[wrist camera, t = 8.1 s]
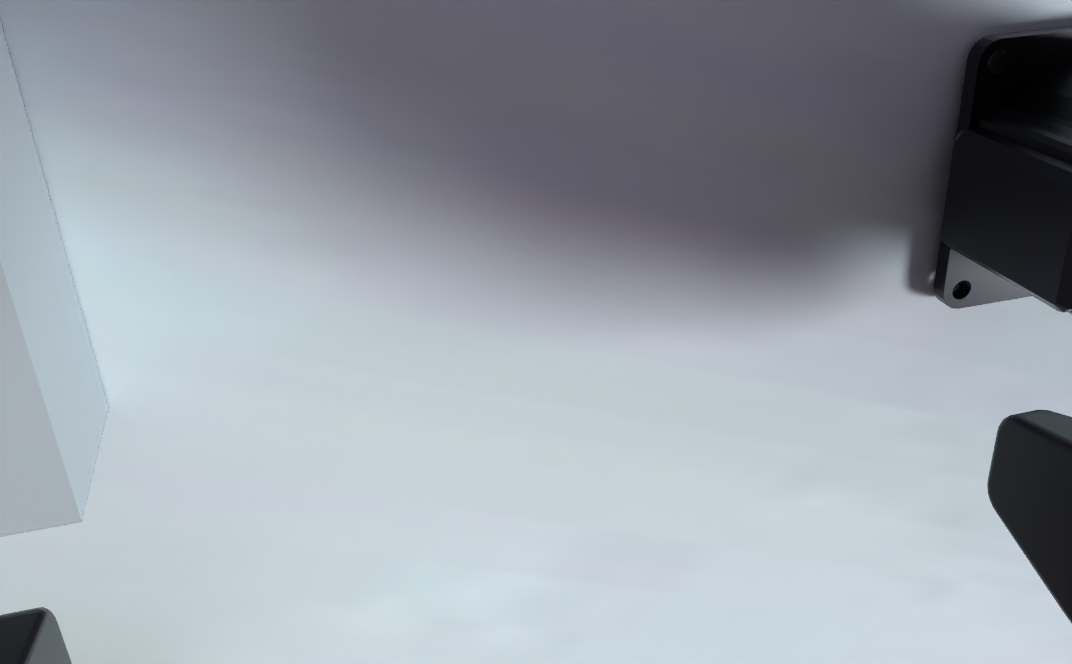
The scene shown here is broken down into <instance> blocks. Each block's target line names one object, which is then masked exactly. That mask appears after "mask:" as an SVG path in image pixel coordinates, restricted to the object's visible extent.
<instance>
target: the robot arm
mask: <svg viewBox="0 0 1072 664" xmlns="http://www.w3.org/2000/svg"><path fill="white" fill-rule="evenodd" d="M996 51H997V58H996V61H995V63H994V64H993V65H992V67H991V68H989V67H988V62H989V59H990V57H991V56H992V55H993V54H994V52H996ZM960 281H961V283H960V286H959V288H958V289H957V290H956V291H954V292H952V291H953V289H954V286H955V285H956V284H957V283H958V282H960ZM934 294H935V296H936V297H937V299H938V300H940V301H941V302H943V303H944V304H946V305H947V306H949V307H951V308H964V307H970V306H976V305H982V304H988V303H993V302H999V301H1005V300H1011V299H1017V298H1023V297H1029V296H1033V297H1035V298H1037V299H1038V300H1040V301H1042V302H1044V303H1045V304H1047V305H1049V306H1050V307H1052V308H1054V309H1056V310H1057V311H1060V312H1069V313H1070V314H1072V26H1071V27H1061V28H1052V29H1043V30H1034V31H1024V32H1015V33H1006V34H997V35H989V36H986V37H983V38H982V39H980V40H979V41H978V42H977V43H975V45H974V46H973V48H972V49H971V51H970V53H969V56H968V59H967V64H966V71H965V78H964V85H963V92H962V98H961V105H960V112H959V119H958V126H957V132H956V139H955V142H954V148H953V155H952V162H951V169H950V176H949V182H948V189H947V196H946V203H945V210H944V217H943V223H942V230H941V241H940V248H939V255H938V262H937V269H936V275H935V282H934ZM987 485H988V494H989V498H990V501H991V503H992V506H993V508H994V509H995V511H996V512H997V514H998V515H999V517H1000V518H1001V520H1002V521H1003V523H1004V524H1005V526H1006V527H1007V529H1008V530H1009V532H1010V533H1011V535H1012V536H1013V538H1014V539H1015V541H1016V542H1017V544H1018V545H1019V547H1020V548H1021V550H1022V551H1023V552H1024V554H1025V555H1026V557H1027V558H1028V560H1029V561H1030V563H1031V564H1032V566H1033V567H1034V569H1035V570H1036V572H1037V573H1038V575H1039V576H1040V578H1041V579H1042V581H1043V582H1044V584H1045V585H1046V587H1047V588H1048V590H1049V591H1050V593H1051V594H1052V596H1053V597H1054V598H1055V600H1056V601H1057V603H1058V604H1059V606H1060V607H1061V609H1062V610H1063V612H1064V613H1065V615H1066V616H1067V617H1068V619H1069V620H1070V622H1071V623H1072V417H1069V416H1066V415H1062V414H1059V413H1055V412H1052V411H1048V410H1035V411H1030V412H1025V413H1020V414H1015V415H1010V416H1008V417H1007V418H1005V419H1004V420H1003V421H1002V422H1001V424H1000V425H999V428H998V431H997V436H996V441H995V446H994V451H993V456H992V462H991V467H990V472H989V477H988V484H987ZM0 664H72V663H71V660H70V657H69V654H68V651H67V649H66V646H65V643H64V640H63V637H62V634H61V631H60V628H59V626H58V623H57V620H56V618H55V616H54V615H53V613H52V612H51V611H50V610H48V609H46V608H43V607H40V608H35V609H30V610H24V611H19V612H14V613H9V614H4V615H1V616H0Z"/></svg>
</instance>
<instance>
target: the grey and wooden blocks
mask: <svg viewBox="0 0 1072 664" xmlns="http://www.w3.org/2000/svg"><path fill="white" fill-rule="evenodd" d="M108 409H109V406H108V403H107V399H106V395H105V392H104V388H103V385H102V381H101V378H100V374H99V371H98V367H97V363H96V360H95V356H94V353H93V349H92V346H91V342H90V338H89V335H88V331H87V328H86V324H85V321H84V317H83V313H82V310H81V306H80V303H79V299H78V296H77V292H76V289H75V285H74V281H73V278H72V274H71V271H70V267H69V264H68V260H67V256H66V253H65V249H64V246H63V242H62V239H61V235H60V231H59V228H58V224H57V221H56V217H55V214H54V210H53V207H52V203H51V199H50V196H49V192H48V189H47V185H46V182H45V178H44V174H43V171H42V167H41V164H40V160H39V157H38V153H37V149H36V146H35V142H34V139H33V135H32V132H31V128H30V125H29V121H28V117H27V114H26V110H25V107H24V103H23V100H22V96H21V92H20V89H19V85H18V82H17V78H16V75H15V71H14V67H13V64H12V60H11V57H10V53H9V50H8V46H7V43H6V39H5V35H4V32H3V28H2V25H1V21H0V537H2V536H7V535H12V534H18V533H23V532H29V531H34V530H40V529H45V528H51V527H56V526H62V525H67V524H72V523H78V522H82V520H83V516H84V511H85V507H86V503H87V498H88V494H89V490H90V486H91V481H92V477H93V473H94V469H95V464H96V460H97V456H98V451H99V447H100V443H101V439H102V434H103V430H104V426H105V422H106V417H107V413H108Z"/></svg>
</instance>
